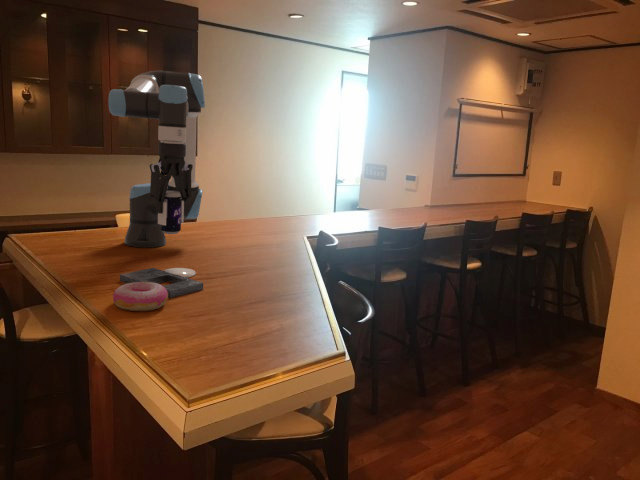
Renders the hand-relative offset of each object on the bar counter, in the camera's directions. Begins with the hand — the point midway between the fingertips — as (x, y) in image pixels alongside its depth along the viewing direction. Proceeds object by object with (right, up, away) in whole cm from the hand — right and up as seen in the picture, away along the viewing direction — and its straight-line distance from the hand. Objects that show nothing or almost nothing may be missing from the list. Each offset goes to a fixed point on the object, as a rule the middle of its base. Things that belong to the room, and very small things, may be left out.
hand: (170, 223), depth 152 cm
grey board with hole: (-3, -18, 0) cm, 18 cm away
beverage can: (0, -3, +1) cm, 3 cm away
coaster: (-1, -16, +13) cm, 21 cm away
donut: (-3, -22, -17) cm, 28 cm away
